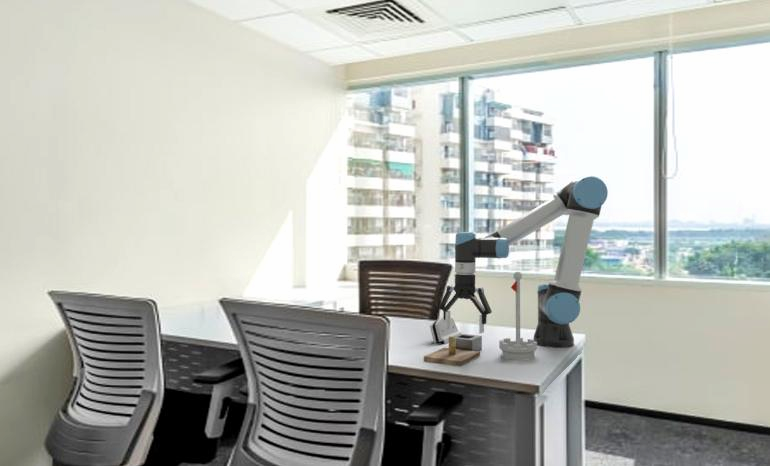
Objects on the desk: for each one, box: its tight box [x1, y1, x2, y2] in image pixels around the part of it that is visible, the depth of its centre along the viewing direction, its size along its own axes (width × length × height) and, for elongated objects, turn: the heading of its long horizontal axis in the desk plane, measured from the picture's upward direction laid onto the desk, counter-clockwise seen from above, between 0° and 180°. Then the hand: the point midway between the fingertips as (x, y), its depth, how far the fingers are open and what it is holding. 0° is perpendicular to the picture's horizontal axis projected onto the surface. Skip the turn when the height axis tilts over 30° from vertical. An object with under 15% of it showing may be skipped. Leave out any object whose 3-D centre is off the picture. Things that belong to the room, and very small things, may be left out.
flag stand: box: [498, 271, 538, 361], centre depth 205 cm, size 13×13×30 cm
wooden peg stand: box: [423, 336, 481, 367], centre depth 203 cm, size 14×16×8 cm
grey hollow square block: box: [454, 333, 483, 352], centre depth 216 cm, size 9×9×5 cm
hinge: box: [429, 317, 462, 345], centre depth 235 cm, size 17×5×10 cm, turn 148°
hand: (464, 330), depth 216 cm, fingers open, 13 cm apart
